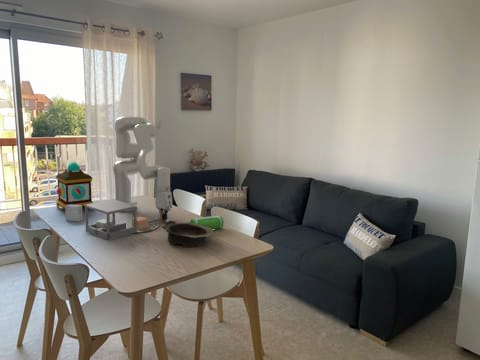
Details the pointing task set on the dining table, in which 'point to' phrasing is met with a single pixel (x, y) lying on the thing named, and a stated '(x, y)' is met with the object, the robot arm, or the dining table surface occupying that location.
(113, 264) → the dining table surface
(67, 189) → the decorative lantern
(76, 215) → the medicine box
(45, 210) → the dining table surface
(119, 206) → the lane shelf
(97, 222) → the sage block
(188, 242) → the stone bowl
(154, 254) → the dining table surface
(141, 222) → the tied block
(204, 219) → the green tapered cylinder
